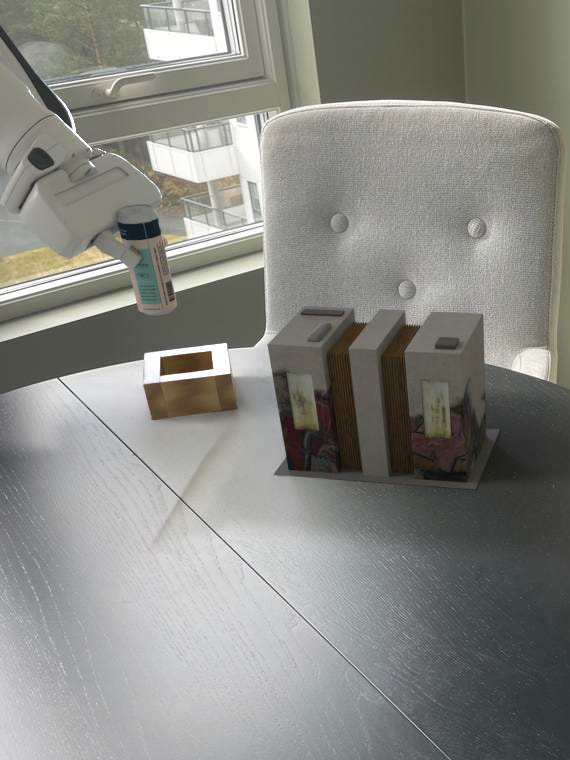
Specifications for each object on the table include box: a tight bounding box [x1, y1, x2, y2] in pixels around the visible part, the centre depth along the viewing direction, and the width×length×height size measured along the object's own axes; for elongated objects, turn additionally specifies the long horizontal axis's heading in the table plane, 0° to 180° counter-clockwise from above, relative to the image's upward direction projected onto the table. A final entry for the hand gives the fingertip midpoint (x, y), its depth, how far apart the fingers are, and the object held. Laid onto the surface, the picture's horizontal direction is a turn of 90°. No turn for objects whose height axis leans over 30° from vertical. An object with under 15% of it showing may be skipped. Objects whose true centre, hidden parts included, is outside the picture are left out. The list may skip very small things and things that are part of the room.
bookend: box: [267, 305, 501, 491], centre depth 116 cm, size 16×25×16 cm, turn 79°
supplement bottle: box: [117, 204, 178, 317], centre depth 117 cm, size 5×5×12 cm
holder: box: [142, 342, 238, 420], centre depth 134 cm, size 11×11×5 cm
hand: (150, 256), depth 116 cm, fingers closed on supplement bottle, 5 cm apart
